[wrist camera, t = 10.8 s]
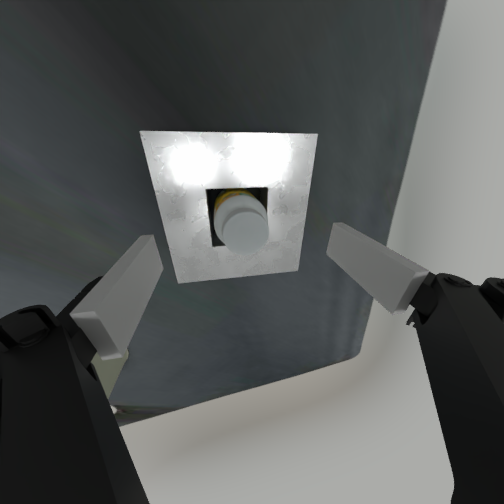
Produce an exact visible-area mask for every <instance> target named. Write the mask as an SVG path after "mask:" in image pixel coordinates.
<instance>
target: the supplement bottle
mask: <svg viewBox="0 0 504 504" xmlns="http://www.w3.org/2000/svg"><path fill="white" fill-rule="evenodd" d="M214 228H215V232H216V234H217V236H218V237H219V239H220V240H221V241H222V242H223V243H224V244H225V245H226V247H227V248H228V249H229V250H230V251H232V252H233V253H235V254H238V255H251V254H254V253H256V252H258V251H259V250H261V249H262V248H263V247H264V245H265V244H266V242H267V240H268V237H269V227H268V215H267V212H266V210H265V208H264V207H263V205H262V204H261V203H260V202H259V201H258V200H257V199H256V198H255V197H254V196H253V195H252V194H251V193H250V192H249V191H248V190H246V189H245V188H225V189H224V190H222V191H221V192H220V193H219V194H218V195H217V197H216V199H215V202H214Z"/></svg>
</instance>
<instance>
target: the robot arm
mask: <svg viewBox="0 0 504 504" xmlns="http://www.w3.org/2000/svg"><path fill="white" fill-rule="evenodd" d="M326 254H327V255H328V256H329V257H330V258H331V259H332V260H333V261H335V262H336V263H337V264H338V265H339V266H340V267H341V268H342V269H343V270H344V271H345V272H346V273H348V274H349V275H350V276H351V277H352V278H353V279H354V280H355V281H356V282H357V283H358V284H359V285H361V286H362V287H363V288H364V289H365V290H366V291H367V292H368V293H369V294H370V295H371V296H372V297H373V298H375V299H376V300H377V301H378V302H379V303H380V304H381V305H382V306H383V307H384V308H386V310H388V311H389V312H390V313H391V314H392V315H394V314H400V313H405V311H406V310H407V308H408V306H409V304H410V305H412V306H413V307H414V308H415V310H414V311H413V313H412V315H411V316H410V318H409V319H408V321H407V324H406V325H409V324H410V323H411V322H414V323H415V324H414V325H413V327H415V328H416V330H417V334H418V338H419V342H420V346H421V350H422V354H423V358H424V362H425V366H426V370H427V374H428V377H429V382H430V385H431V390H432V393H433V397H434V401H435V405H436V409H437V413H438V417H439V421H440V425H441V429H442V433H443V437H444V441H445V445H446V449H447V453H448V456H449V460H450V464H451V468H452V472H453V477H454V491H453V495H452V498H451V504H504V279H500V278H487V279H486V280H485V281H484V283H483V284H482V285H481V286H479V285H473V284H472V283H471V282H469V281H467V280H465V279H463V278H460V277H458V276H455V275H450V274H445V273H439V274H437V275H435V274H433V273H431V272H429V270H427V269H425V268H423V267H421V266H420V265H418V264H416V263H414V262H413V261H411V260H409V259H407V258H405V257H404V256H402V255H400V254H398V253H396V252H394V251H393V250H391V249H389V248H387V247H386V246H384V245H382V244H380V243H378V242H377V241H375V240H373V239H371V238H369V237H368V236H366V235H364V234H362V233H360V232H359V231H357V230H355V229H353V228H351V227H350V226H348V225H346V224H344V223H342V222H341V223H333V227H332V231H331V235H330V239H329V244H328V248H327V252H326ZM162 271H163V266H162V262H161V259H160V255H159V252H158V249H157V245H156V242H155V239H154V235H141V236H140V237H139V238H138V239H137V240H136V242H135V243H134V244H133V245H132V246H131V247H130V248H129V249H128V250H127V251H126V252H125V254H124V255H123V256H122V257H121V258H120V259H119V260H118V261H117V262H116V263H115V265H114V266H113V267H112V268H111V269H110V270H109V271H108V272H107V273H106V274H105V275H104V276H101V277H98V278H96V279H95V280H93V281H92V282H90V283H89V284H88V285H87V286H86V287H85V288H84V289H83V290H82V291H81V293H79V294H78V295H77V296H76V297H75V299H73V300H72V301H71V302H70V303H69V304H68V305H67V306H66V307H65V308H64V309H63V310H62V311H61V312H60V313H59V314H58V315H57V316H56V317H55V315H54V314H53V313H52V311H51V310H50V309H49V308H48V307H47V306H46V305H34V306H29V307H26V308H23V309H20V310H17V311H15V312H13V313H10V314H8V315H6V316H4V317H3V318H1V319H0V504H149V501H148V499H147V497H146V494H145V491H144V489H143V486H142V484H141V482H140V479H139V477H138V474H137V471H136V469H135V467H134V464H133V461H132V459H131V456H130V454H129V451H128V449H127V446H126V444H125V442H124V439H123V436H122V434H121V431H120V429H119V426H118V424H117V421H116V419H115V416H114V414H113V411H112V409H111V406H110V404H109V401H108V399H107V396H106V394H105V391H104V389H103V386H102V384H101V382H100V379H99V377H98V374H97V372H96V369H95V367H94V365H93V364H92V363H91V361H92V359H93V357H94V356H95V354H96V352H97V353H98V354H99V356H100V357H101V359H102V360H109V359H115V358H121V357H123V356H124V354H125V352H126V349H127V347H128V345H129V343H130V341H131V338H132V336H133V334H134V332H135V330H136V328H137V325H138V323H139V321H140V319H141V317H142V314H143V312H144V310H145V308H146V306H147V304H148V301H149V299H150V297H151V295H152V293H153V290H154V288H155V286H156V284H157V282H158V280H159V277H160V275H161V273H162Z"/></svg>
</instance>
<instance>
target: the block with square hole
mask: <svg viewBox="0 0 504 504" xmlns="http://www.w3.org/2000/svg"><path fill="white" fill-rule="evenodd" d="M140 135H141V139H142V143H143V147H144V151H145V155H146V159H147V163H148V167H149V171H150V175H151V179H152V183H153V186H154V190H155V194H156V198H157V202H158V206H159V210H160V214H161V218H162V222H163V226H164V230H165V234H166V238H167V242H168V245H169V249H170V253H171V257H172V261H173V265H174V269H175V273H176V277H177V281H178V283H187V282H196V281H206V280H215V279H224V278H234V277H243V276H252V275H262V274H271V273H280V272H290V271H298V266H299V259H300V253H301V246H302V239H303V232H304V225H305V218H306V211H307V205H308V198H309V191H310V184H311V177H312V170H313V164H314V157H315V150H316V143H317V136H318V134H294V133H235V132H175V131H140ZM252 187H260V203H261V204H262V205H263V207H264V208H265V210H266V212H267V215H268V227H269V237H268V240H267V242H266V244H265V245H264V247H263V248H262V249H261V250H259V251H258V252H256V253H254V254H251V255H238V254H235V253H233V252H232V251H230V250H229V249H228V248H227V247H226V245H225V244H224V243H223V242H222V241H221V240H220V239H219V237H218V236H217V234H213V231H212V222H211V213H210V205H209V196H208V189H219V188H252Z"/></svg>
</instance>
